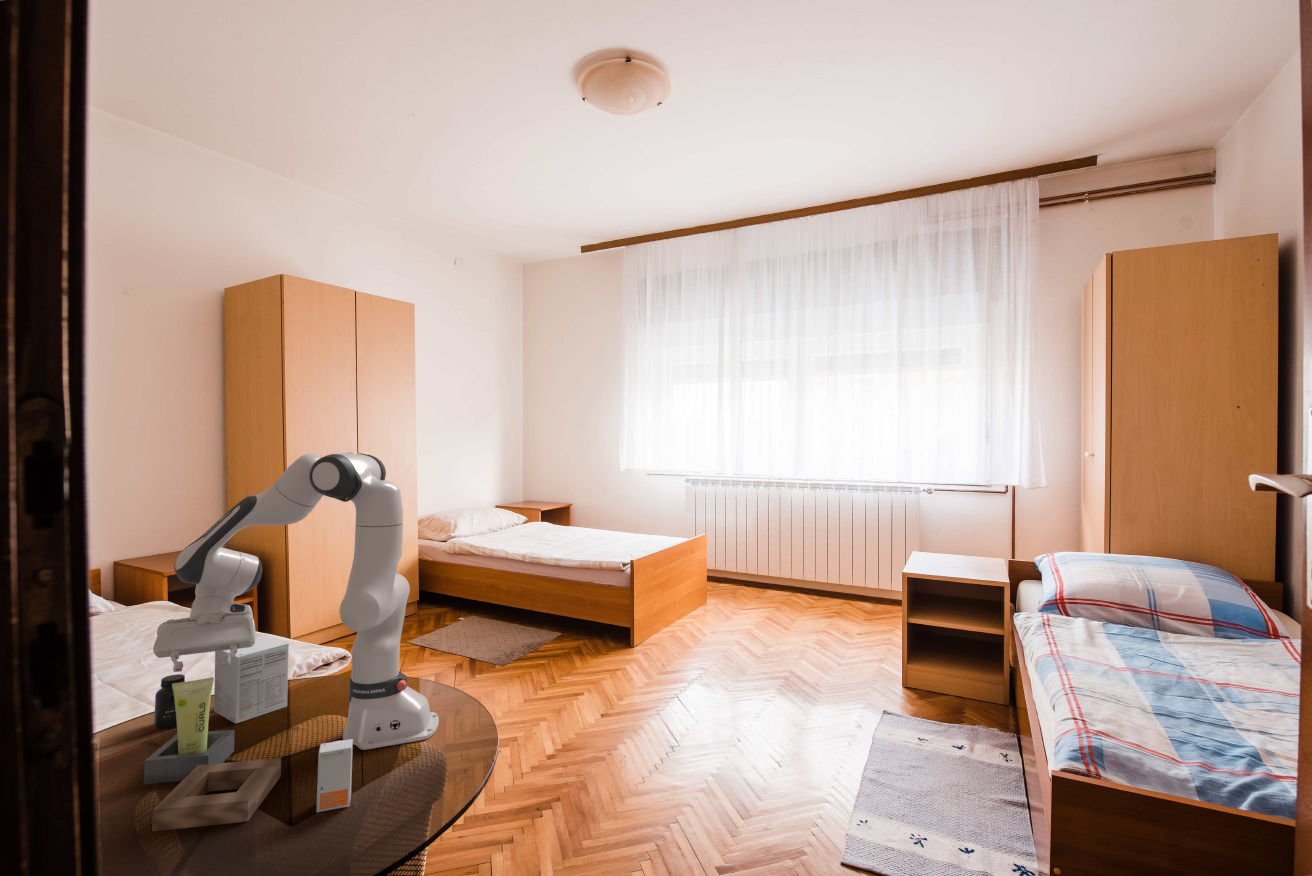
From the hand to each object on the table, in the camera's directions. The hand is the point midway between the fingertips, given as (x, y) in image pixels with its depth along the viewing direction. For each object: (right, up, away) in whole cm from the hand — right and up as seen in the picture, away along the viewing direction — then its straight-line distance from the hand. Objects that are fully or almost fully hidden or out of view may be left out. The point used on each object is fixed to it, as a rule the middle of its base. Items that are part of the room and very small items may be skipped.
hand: (202, 667), depth 143 cm
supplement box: (-2, -20, +21) cm, 29 cm away
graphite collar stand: (+4, -19, -9) cm, 21 cm away
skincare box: (+43, -20, -22) cm, 52 cm away
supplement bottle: (-17, -19, +11) cm, 28 cm away
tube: (+4, -19, -9) cm, 21 cm away
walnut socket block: (+20, -19, -21) cm, 35 cm away
